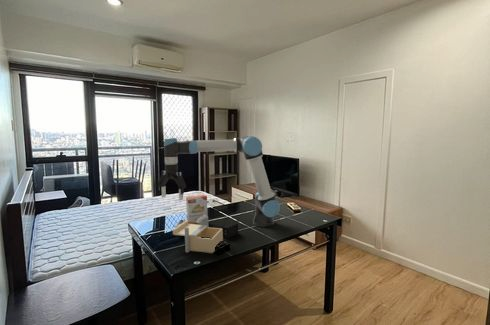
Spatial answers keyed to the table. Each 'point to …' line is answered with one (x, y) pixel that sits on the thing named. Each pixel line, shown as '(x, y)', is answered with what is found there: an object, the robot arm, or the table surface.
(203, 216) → the bar
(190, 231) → the lid
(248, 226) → the table surface
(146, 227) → the table surface
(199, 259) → the table surface
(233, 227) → the digital camera
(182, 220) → the ceramic sculpture
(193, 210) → the cracker box
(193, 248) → the carton
